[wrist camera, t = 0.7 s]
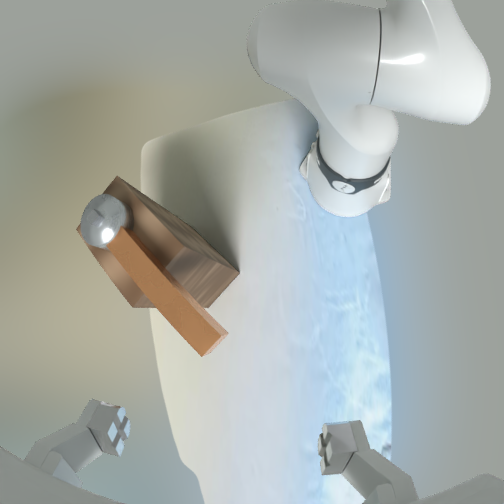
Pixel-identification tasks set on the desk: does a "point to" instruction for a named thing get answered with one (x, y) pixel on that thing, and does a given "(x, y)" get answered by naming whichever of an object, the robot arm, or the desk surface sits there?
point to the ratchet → (149, 272)
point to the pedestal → (166, 251)
